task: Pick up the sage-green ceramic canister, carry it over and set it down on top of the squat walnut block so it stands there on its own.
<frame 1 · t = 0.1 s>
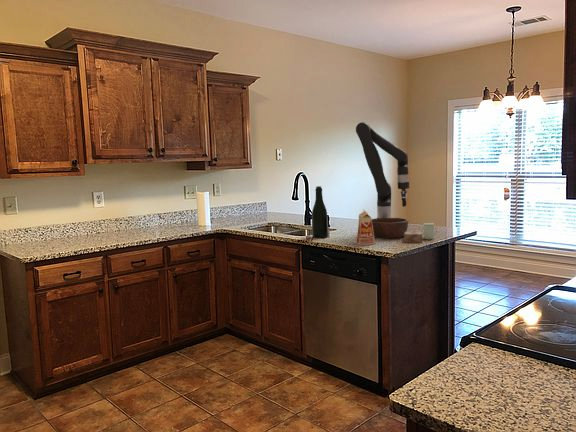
hand: (404, 205, 320), 17 cm above the worktop, tool pointing down, fingers open, 8 cm apart
milk carton: (365, 243, 283), on the worktop
walnut block: (413, 241, 286), on the worktop
beer bottle: (320, 237, 313), on the worktop
canister: (429, 238, 293), on the worktop
wooden bowl: (388, 236, 306), on the worktop
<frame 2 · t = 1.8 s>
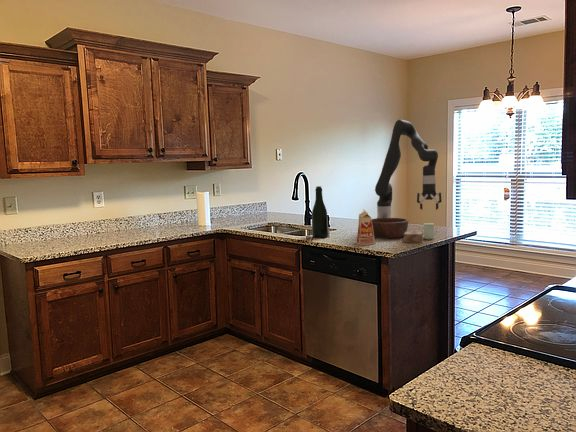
hand: (429, 209, 291), 17 cm above the worktop, tool pointing down, fingers open, 8 cm apart
nothing on the worktop moved.
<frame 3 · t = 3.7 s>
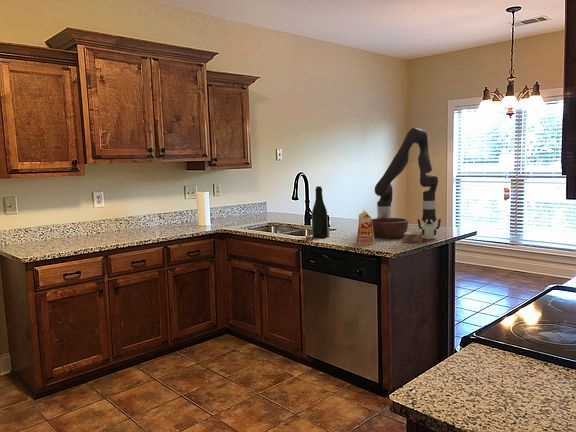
hand: (429, 235, 292), 2 cm above the worktop, tool pointing down, fingers closed on canister, 5 cm apart
canister: (429, 238, 293), on the worktop, touching gripper
everything else where it was.
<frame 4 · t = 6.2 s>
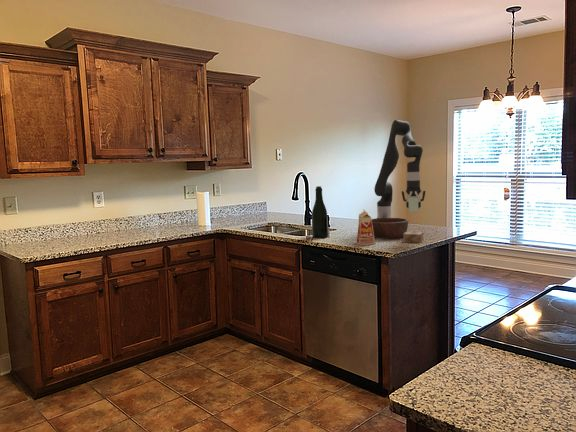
hand: (413, 208, 284), 19 cm above the worktop, tool pointing down, fingers closed on canister, 5 cm apart
canister: (413, 210, 284), point 18 cm above the worktop, touching gripper
everything else where it was.
when the fingers open (7 cm above the worktop, at t = 8.9 s): canister drops 1 cm, resting on walnut block.
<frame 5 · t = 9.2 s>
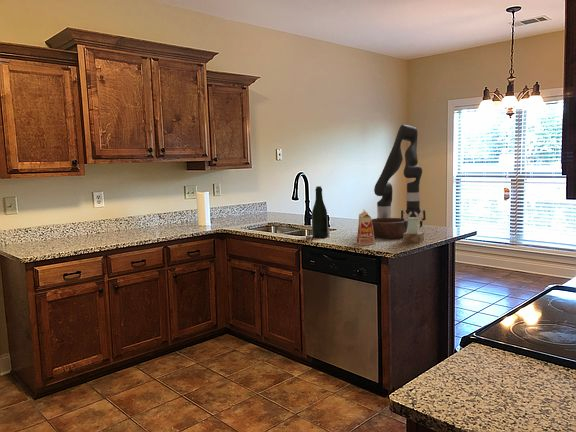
hand: (413, 227, 285), 8 cm above the worktop, tool pointing down, fingers open, 8 cm apart
walnut block: (413, 241, 286), on the worktop, touching canister
canister: (413, 233, 285), point 5 cm above the worktop, touching walnut block
everything else where it was.
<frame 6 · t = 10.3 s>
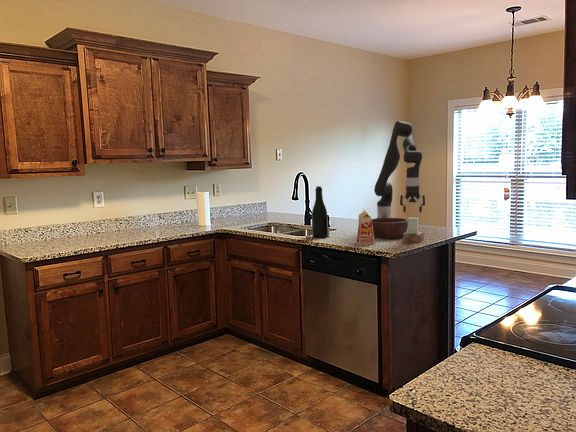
hand: (412, 212, 284), 17 cm above the worktop, tool pointing down, fingers open, 8 cm apart
nothing on the worktop moved.
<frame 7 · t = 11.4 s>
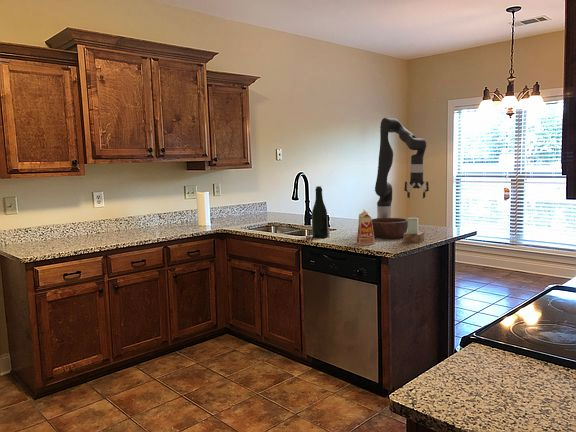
hand: (416, 198, 294), 24 cm above the worktop, tool pointing down, fingers open, 8 cm apart
nothing on the worktop moved.
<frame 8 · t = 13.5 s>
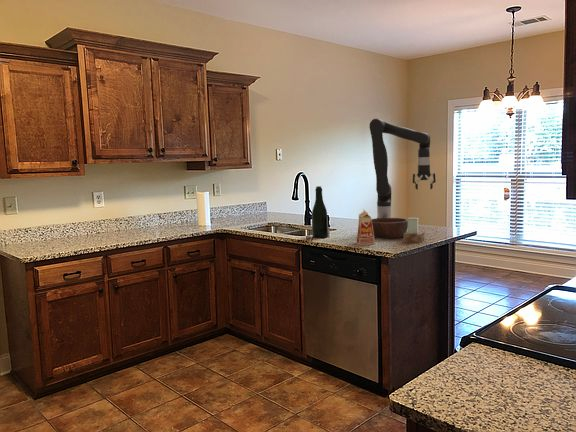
hand: (424, 189, 310), 28 cm above the worktop, tool pointing down, fingers open, 8 cm apart
nothing on the worktop moved.
at the end: canister inside the target area on the walnut block (0.8 cm from its centre), point 5.0 cm above the walnut block's base; canister tilted 0°; the gripper is holding nothing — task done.
